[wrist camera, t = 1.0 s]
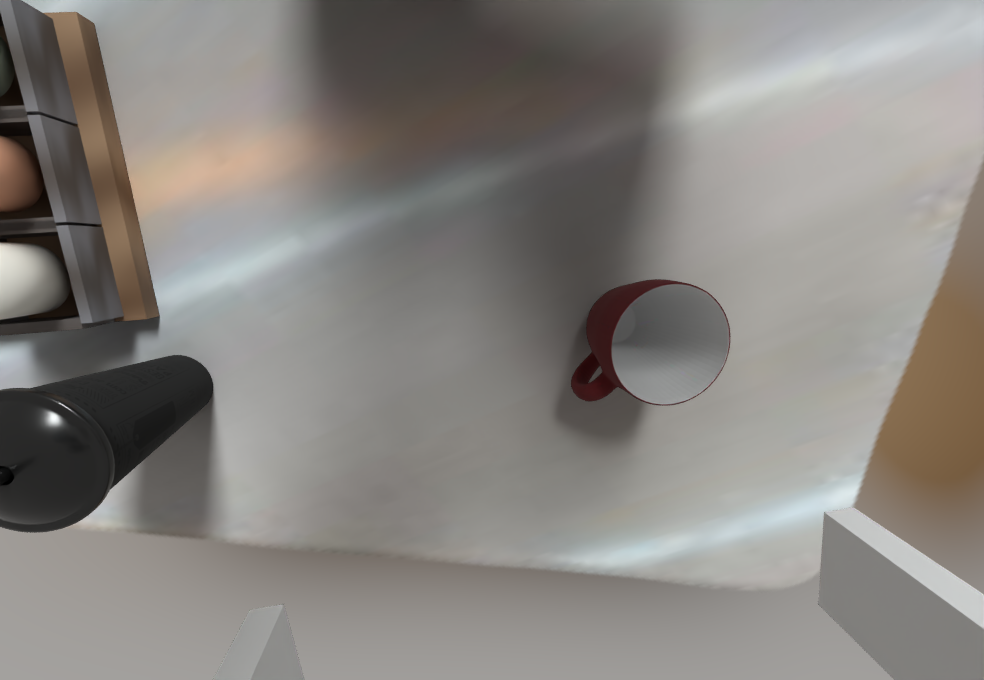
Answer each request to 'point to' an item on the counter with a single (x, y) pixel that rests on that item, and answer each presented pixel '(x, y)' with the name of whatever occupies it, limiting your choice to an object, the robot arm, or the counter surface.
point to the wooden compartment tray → (72, 172)
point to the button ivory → (30, 280)
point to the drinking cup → (88, 436)
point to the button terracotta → (18, 177)
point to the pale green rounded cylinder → (5, 67)
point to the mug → (654, 343)
